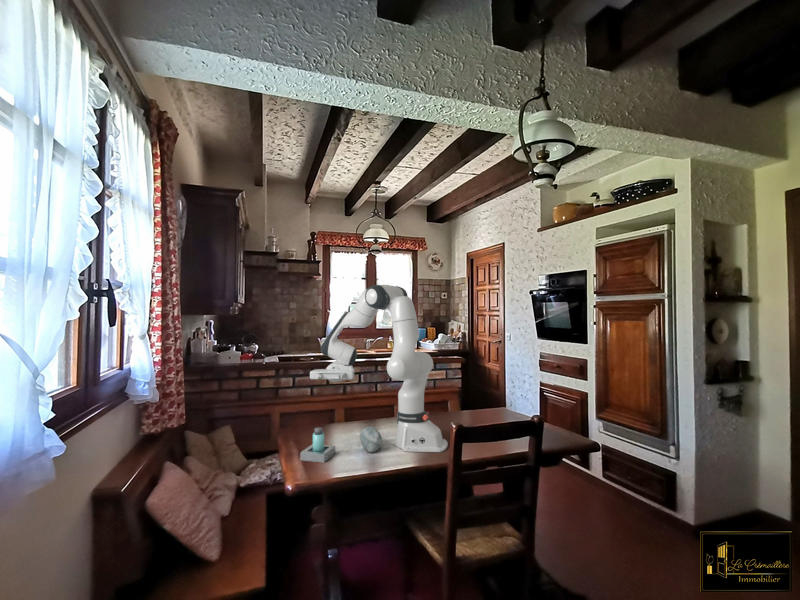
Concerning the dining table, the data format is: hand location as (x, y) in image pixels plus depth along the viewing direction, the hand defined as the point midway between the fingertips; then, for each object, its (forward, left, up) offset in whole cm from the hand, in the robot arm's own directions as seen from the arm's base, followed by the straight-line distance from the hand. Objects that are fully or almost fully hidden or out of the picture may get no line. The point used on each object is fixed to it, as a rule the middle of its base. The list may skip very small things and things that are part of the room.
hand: (329, 377), depth 173 cm
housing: (-4, +18, -28) cm, 34 cm away
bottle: (-4, +18, -28) cm, 34 cm away
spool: (-21, +4, -28) cm, 35 cm away
